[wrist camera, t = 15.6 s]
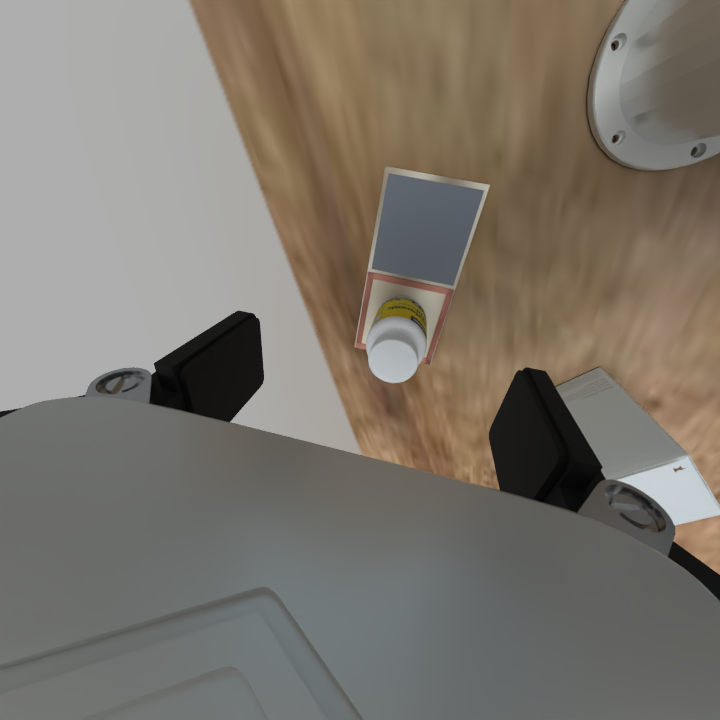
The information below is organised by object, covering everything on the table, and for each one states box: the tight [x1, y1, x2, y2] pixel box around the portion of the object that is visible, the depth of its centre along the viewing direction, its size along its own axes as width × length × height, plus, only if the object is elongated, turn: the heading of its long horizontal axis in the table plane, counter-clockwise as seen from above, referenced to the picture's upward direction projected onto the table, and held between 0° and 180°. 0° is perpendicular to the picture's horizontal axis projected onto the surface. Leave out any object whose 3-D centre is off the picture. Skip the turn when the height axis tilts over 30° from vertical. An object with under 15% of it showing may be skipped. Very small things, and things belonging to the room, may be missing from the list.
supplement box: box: [555, 367, 720, 525], centre depth 28 cm, size 7×7×13 cm
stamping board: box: [355, 166, 490, 365], centre depth 30 cm, size 9×18×1 cm, turn 170°
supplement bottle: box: [366, 297, 427, 383], centre depth 28 cm, size 5×5×10 cm
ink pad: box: [372, 173, 484, 286], centre depth 27 cm, size 8×8×1 cm
